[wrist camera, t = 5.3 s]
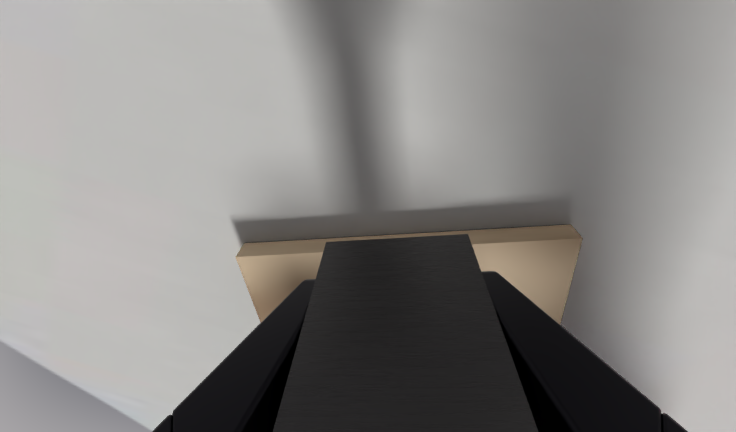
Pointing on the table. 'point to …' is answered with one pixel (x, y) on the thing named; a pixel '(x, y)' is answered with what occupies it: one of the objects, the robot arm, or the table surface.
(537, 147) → the table surface
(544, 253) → the base plate
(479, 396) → the shaft
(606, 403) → the robot arm
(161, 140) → the table surface
